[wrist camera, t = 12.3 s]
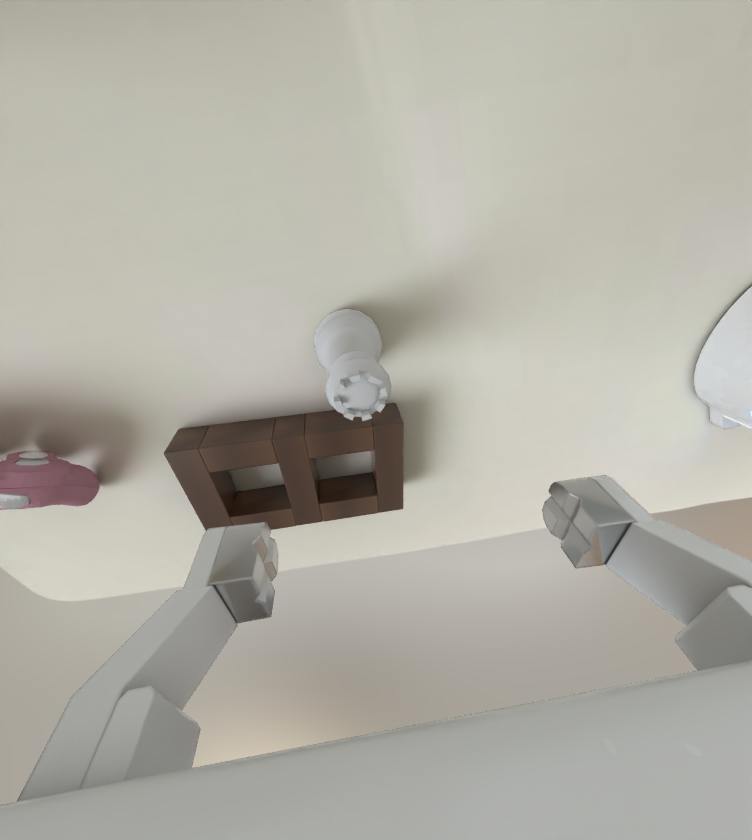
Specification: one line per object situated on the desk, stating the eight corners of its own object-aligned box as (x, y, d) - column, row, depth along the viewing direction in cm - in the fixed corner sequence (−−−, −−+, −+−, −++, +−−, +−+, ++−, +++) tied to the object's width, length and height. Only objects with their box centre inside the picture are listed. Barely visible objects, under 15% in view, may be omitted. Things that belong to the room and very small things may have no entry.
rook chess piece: (380, 368, 23) (406, 431, 16) (318, 374, 23) (319, 442, 16) (379, 304, 21) (408, 349, 14) (309, 309, 20) (305, 358, 13)
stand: (395, 402, 25) (403, 422, 23) (396, 486, 30) (403, 509, 28) (178, 428, 23) (163, 453, 21) (218, 512, 28) (210, 539, 26)
